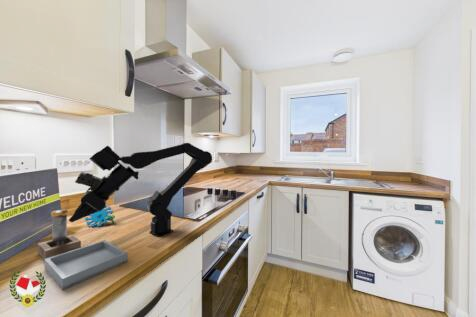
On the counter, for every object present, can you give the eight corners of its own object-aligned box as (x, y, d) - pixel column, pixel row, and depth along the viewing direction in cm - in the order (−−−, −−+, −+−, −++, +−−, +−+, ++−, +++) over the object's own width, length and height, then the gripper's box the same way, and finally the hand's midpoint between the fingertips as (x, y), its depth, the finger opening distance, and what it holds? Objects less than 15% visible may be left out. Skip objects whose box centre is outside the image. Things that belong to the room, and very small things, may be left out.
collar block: (71, 243, 65) (71, 234, 65) (80, 250, 61) (80, 240, 60) (37, 253, 58) (37, 243, 58) (45, 261, 54) (45, 251, 54)
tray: (104, 247, 62) (104, 239, 62) (127, 261, 55) (127, 252, 55) (44, 268, 51) (44, 259, 51) (62, 290, 43) (62, 278, 43)
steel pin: (65, 247, 62) (65, 208, 62) (69, 251, 60) (69, 210, 60) (49, 252, 59) (49, 211, 59) (53, 256, 57) (53, 214, 56)
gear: (78, 223, 78) (93, 202, 85) (84, 230, 82) (98, 209, 89) (106, 227, 78) (118, 206, 85) (111, 233, 83) (122, 212, 90)
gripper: (96, 162, 71) (56, 194, 66) (91, 165, 56) (37, 208, 50) (121, 182, 76) (85, 214, 70) (123, 190, 60) (77, 232, 54)
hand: (73, 216), depth 61 cm, fingers open, 9 cm apart
